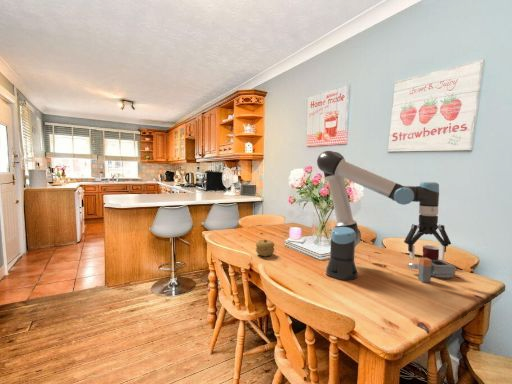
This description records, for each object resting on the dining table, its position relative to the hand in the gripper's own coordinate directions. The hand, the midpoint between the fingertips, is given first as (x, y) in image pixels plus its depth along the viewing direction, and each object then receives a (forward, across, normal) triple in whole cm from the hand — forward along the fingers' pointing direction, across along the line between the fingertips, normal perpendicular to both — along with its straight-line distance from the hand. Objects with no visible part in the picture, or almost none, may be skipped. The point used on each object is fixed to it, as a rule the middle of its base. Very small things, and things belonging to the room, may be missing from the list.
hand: (426, 258), depth 122 cm
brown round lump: (+10, -78, +32) cm, 85 cm away
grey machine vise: (+11, +7, +9) cm, 16 cm away
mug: (+11, +16, +23) cm, 30 cm away
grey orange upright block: (+11, 0, 0) cm, 11 cm away
